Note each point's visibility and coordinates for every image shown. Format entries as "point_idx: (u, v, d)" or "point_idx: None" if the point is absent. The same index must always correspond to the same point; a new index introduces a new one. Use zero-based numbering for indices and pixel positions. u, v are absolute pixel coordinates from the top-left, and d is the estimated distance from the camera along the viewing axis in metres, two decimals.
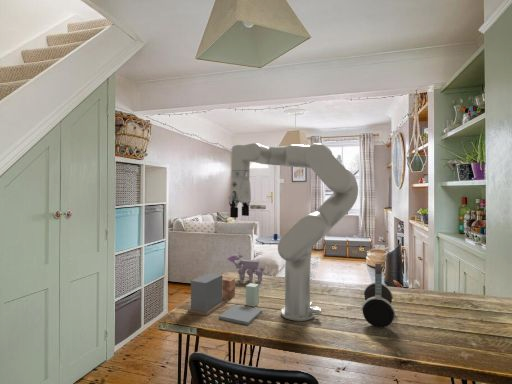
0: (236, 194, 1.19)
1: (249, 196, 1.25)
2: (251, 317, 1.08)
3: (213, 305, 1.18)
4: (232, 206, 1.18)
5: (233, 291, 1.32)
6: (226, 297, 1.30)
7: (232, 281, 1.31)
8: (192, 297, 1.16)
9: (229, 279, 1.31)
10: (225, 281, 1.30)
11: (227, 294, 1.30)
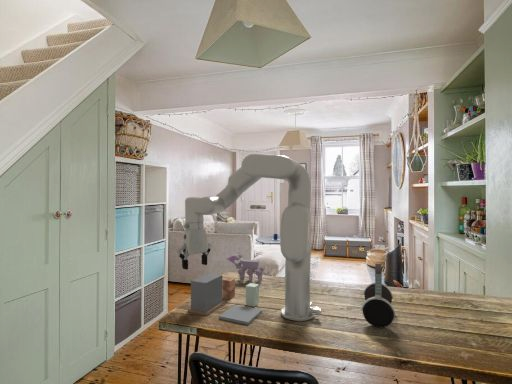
0: (185, 246, 1.22)
1: (204, 246, 1.26)
2: (251, 317, 1.08)
3: (213, 305, 1.18)
4: (182, 258, 1.21)
5: (233, 291, 1.32)
6: (226, 297, 1.30)
7: (232, 281, 1.31)
8: (192, 297, 1.16)
9: (229, 279, 1.31)
10: (225, 281, 1.30)
11: (227, 294, 1.30)
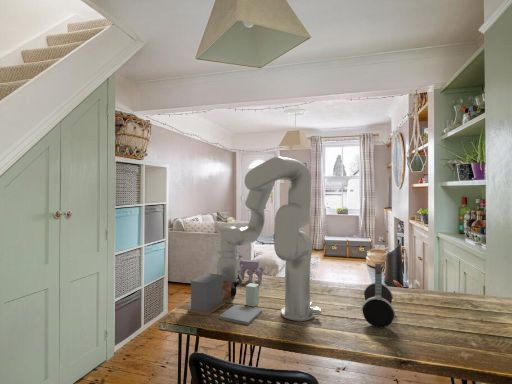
0: None
1: (232, 276, 1.28)
2: (251, 317, 1.08)
3: (213, 305, 1.18)
4: None
5: None
6: (226, 297, 1.30)
7: None
8: (192, 297, 1.16)
9: None
10: (225, 281, 1.30)
11: (227, 294, 1.30)
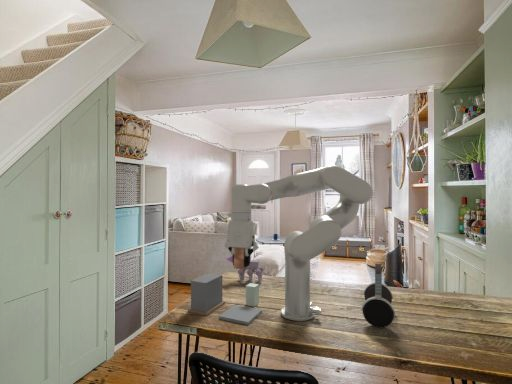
0: None
1: (245, 241, 1.09)
2: (251, 317, 1.08)
3: (213, 305, 1.18)
4: None
5: None
6: (238, 267, 1.11)
7: None
8: (192, 297, 1.16)
9: None
10: (237, 248, 1.11)
11: (240, 264, 1.10)
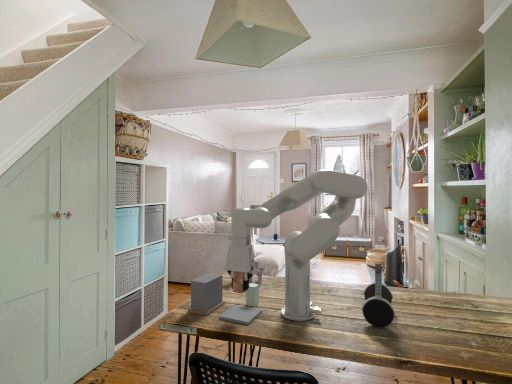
0: None
1: (244, 266, 1.09)
2: (251, 317, 1.08)
3: (213, 305, 1.18)
4: None
5: None
6: (237, 291, 1.10)
7: None
8: (192, 297, 1.16)
9: None
10: (236, 272, 1.11)
11: (239, 288, 1.10)
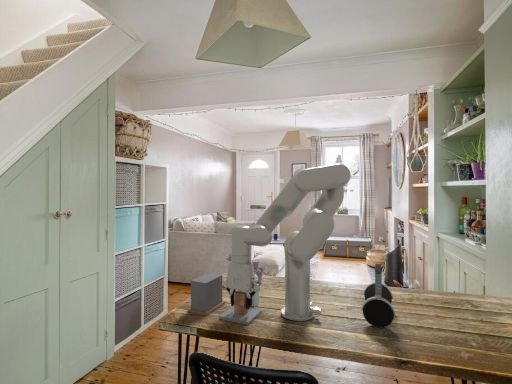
0: None
1: (245, 285, 1.09)
2: (251, 317, 1.08)
3: (213, 305, 1.18)
4: None
5: None
6: (238, 313, 1.11)
7: (245, 294, 1.11)
8: (192, 297, 1.16)
9: (242, 292, 1.12)
10: (237, 294, 1.11)
11: (240, 310, 1.10)
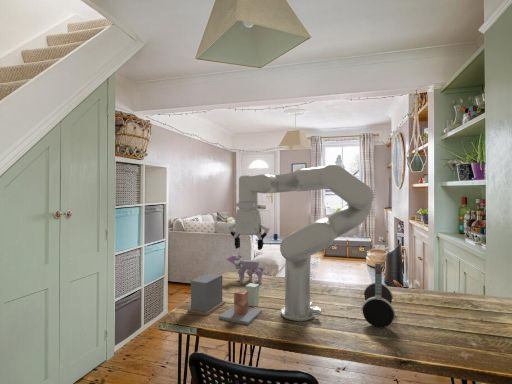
0: None
1: (253, 229, 1.16)
2: (251, 317, 1.08)
3: (213, 305, 1.18)
4: None
5: (246, 306, 1.12)
6: (238, 313, 1.11)
7: (245, 294, 1.11)
8: (192, 297, 1.16)
9: (242, 292, 1.12)
10: (237, 294, 1.11)
11: (240, 310, 1.10)
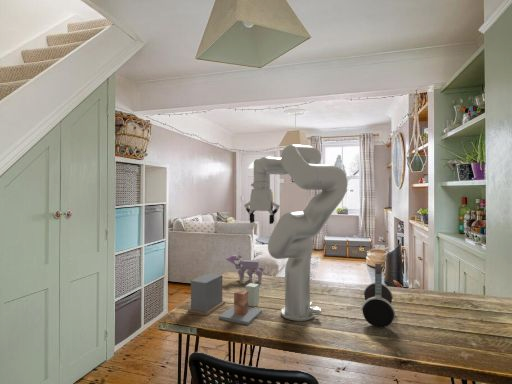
0: None
1: (265, 205, 1.33)
2: (251, 317, 1.08)
3: (213, 305, 1.18)
4: None
5: (246, 306, 1.12)
6: (238, 313, 1.11)
7: (245, 294, 1.11)
8: (192, 297, 1.16)
9: (242, 292, 1.12)
10: (237, 294, 1.11)
11: (240, 310, 1.10)
